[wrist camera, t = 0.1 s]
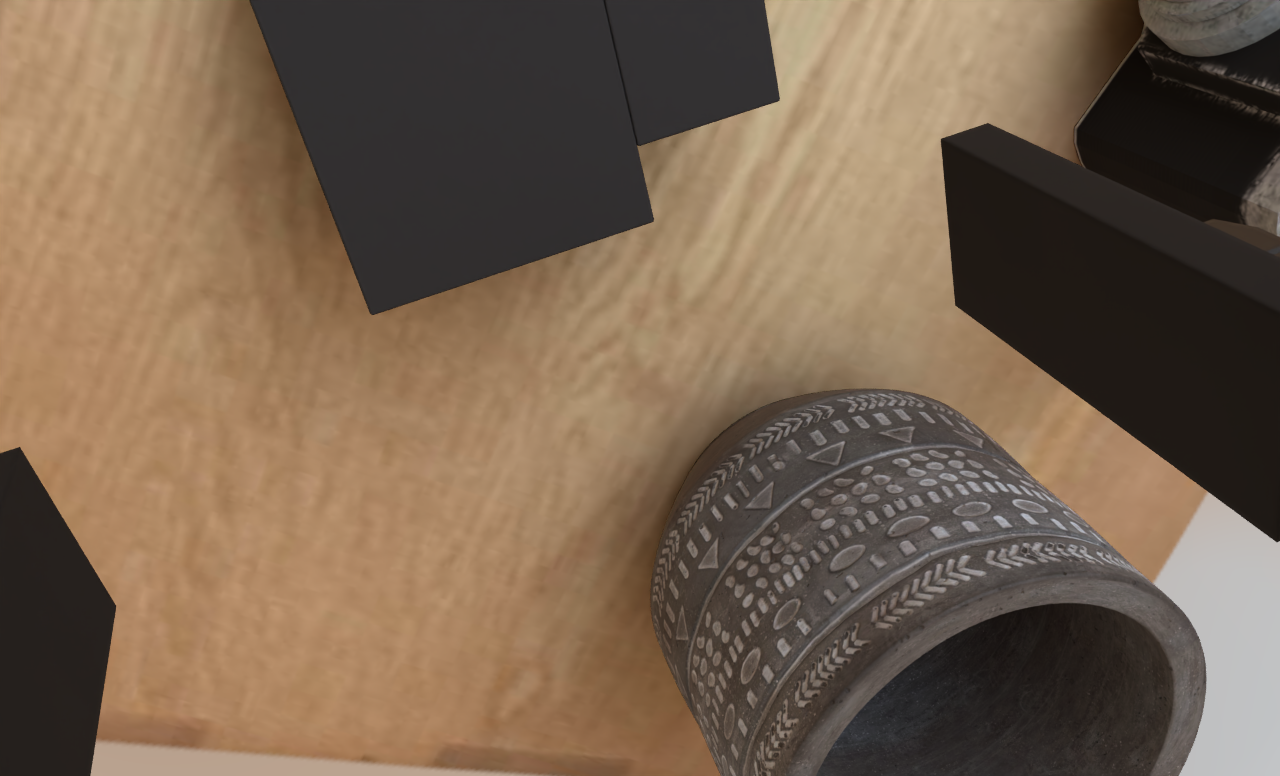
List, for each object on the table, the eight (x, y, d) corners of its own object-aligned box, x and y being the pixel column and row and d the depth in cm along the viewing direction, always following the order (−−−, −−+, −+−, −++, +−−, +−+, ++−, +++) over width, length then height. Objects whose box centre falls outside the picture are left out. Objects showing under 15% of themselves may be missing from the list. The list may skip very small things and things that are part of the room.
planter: (932, 610, 44) (1160, 884, 33) (621, 679, 41) (759, 1006, 30) (969, 315, 38) (1260, 529, 27) (611, 370, 35) (777, 636, 24)
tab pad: (235, -69, 27) (234, -40, 22) (662, -187, 28) (736, -181, 24) (353, 242, 31) (371, 316, 27) (721, 124, 32) (793, 176, 28)
